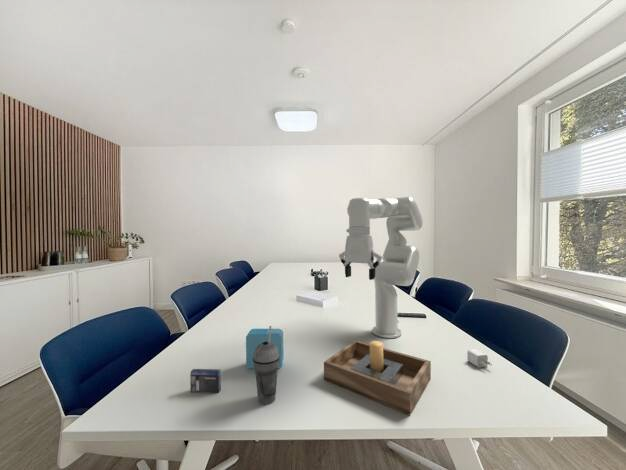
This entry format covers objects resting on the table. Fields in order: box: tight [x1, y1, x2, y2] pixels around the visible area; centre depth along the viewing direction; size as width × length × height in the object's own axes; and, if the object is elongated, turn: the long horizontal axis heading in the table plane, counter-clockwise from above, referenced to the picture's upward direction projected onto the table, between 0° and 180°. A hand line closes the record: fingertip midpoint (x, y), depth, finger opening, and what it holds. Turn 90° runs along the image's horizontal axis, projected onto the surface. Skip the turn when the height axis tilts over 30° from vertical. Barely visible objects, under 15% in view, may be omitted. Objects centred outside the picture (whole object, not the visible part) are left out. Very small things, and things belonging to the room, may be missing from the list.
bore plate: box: [350, 354, 403, 385], centre depth 80 cm, size 12×12×3 cm
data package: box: [245, 328, 285, 370], centre depth 89 cm, size 12×4×12 cm, turn 89°
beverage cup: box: [253, 325, 280, 406], centre depth 71 cm, size 7×7×20 cm
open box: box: [323, 339, 432, 416], centre depth 80 cm, size 20×26×6 cm
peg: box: [369, 340, 384, 373], centre depth 80 cm, size 4×4×10 cm
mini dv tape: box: [189, 368, 222, 394], centre depth 75 cm, size 8×2×6 cm, turn 87°
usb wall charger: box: [466, 348, 492, 368], centre depth 88 cm, size 4×7×4 cm, turn 9°
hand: (359, 278), depth 97 cm, fingers open, 9 cm apart
